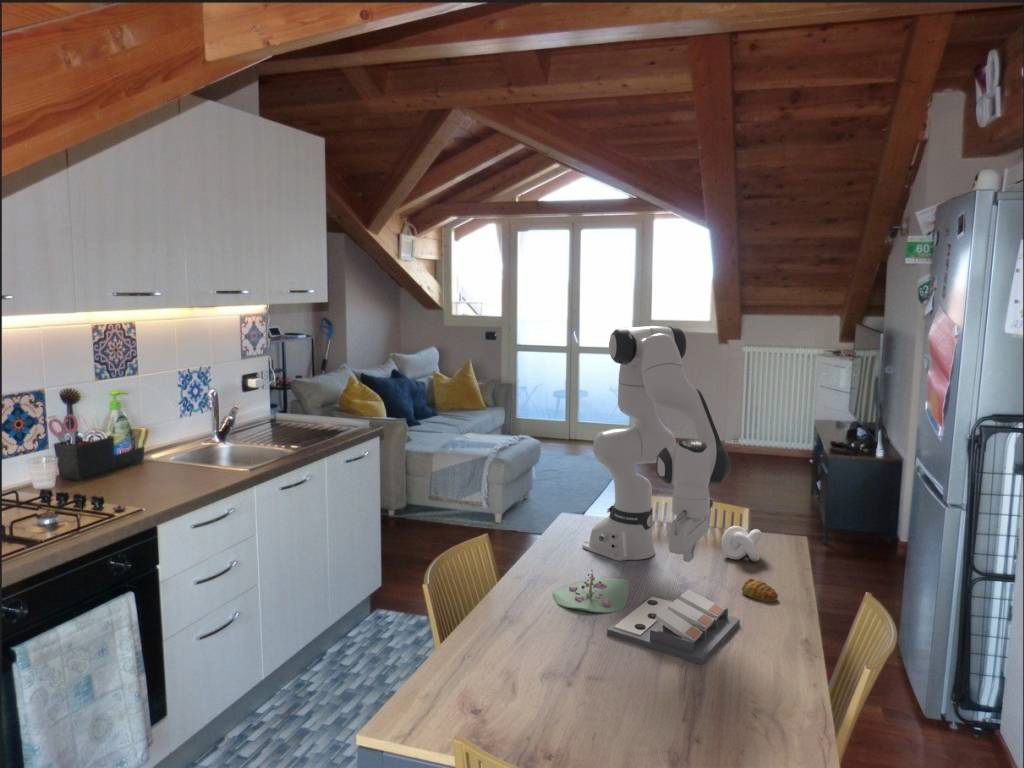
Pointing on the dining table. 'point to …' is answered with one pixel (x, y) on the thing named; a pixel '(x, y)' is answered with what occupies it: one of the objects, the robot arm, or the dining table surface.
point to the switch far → (701, 604)
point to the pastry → (759, 590)
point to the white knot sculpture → (740, 543)
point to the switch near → (678, 625)
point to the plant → (594, 595)
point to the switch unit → (656, 636)
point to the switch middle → (690, 614)
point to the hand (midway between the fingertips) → (688, 559)
